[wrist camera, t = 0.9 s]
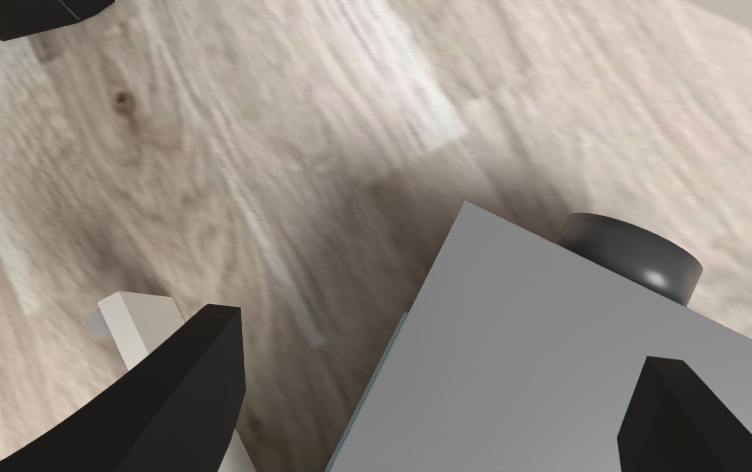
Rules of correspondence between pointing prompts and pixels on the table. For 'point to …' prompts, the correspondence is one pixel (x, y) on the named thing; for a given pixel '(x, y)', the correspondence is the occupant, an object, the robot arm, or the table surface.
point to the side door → (150, 343)
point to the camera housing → (535, 350)
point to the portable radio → (44, 15)
